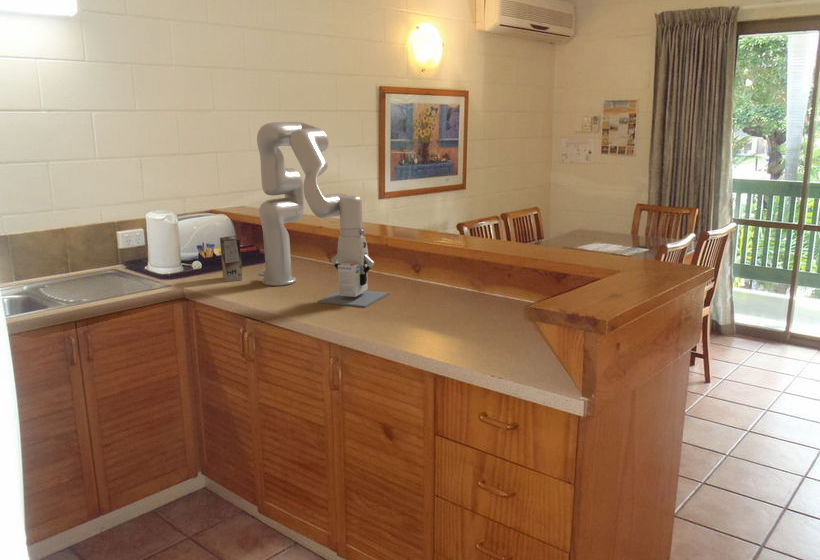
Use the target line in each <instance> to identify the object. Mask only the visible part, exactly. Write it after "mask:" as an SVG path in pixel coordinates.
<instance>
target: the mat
mask: <svg viewBox="0 0 820 560" xmlns="http://www.w3.org/2000/svg"><path fill="white" fill-rule="evenodd" d="M387 296H389V292H387V291H386V292H385V291H377V290H374V291H373V290H366V291H364V292H363V293H361V294H359V295H358V296H356V297H351V296H339V290H338V291H336V292H334V293H331V294H328V295H327V296H326V297H322V298H321V299H318V300H317V302H318V303H320V304H321V303H322V304H328V305H330V304H331V305H339V306H346V307H347V306H348V307H356V308H365V309H366V308H367V307H369V306H371V305H373V304H375V303H376V302H378V301H379V300H381V299H383V298H384V297H387Z"/></svg>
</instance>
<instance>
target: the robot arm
mask: <svg viewBox="0 0 820 560" xmlns="http://www.w3.org/2000/svg"><path fill="white" fill-rule="evenodd" d="M256 144H257V150H258V154H259V158H260V177H261V188H262V191H263V193H264V194H265V195H267V196H273V197H274V196H281V195H284V197H282V198H281V197H278V198H271V199H268V200H265V201H264V202H262V203H261V204H260V205H259V208H258V215H259V220H260V223H261V228H262V236H263V246H264V247H263V248H264V249H263V250H264V260H265V261H264V263H265V269H260V270H259V272H258V276H260V277H263V278H262V284H263V285H265V286H271V287H273V286H274V287H276V286H279V287H280V286H287V285H292V284H294V283H296V282H297V278H296V276H293V274H292V262H291V261H292V260H291V243H290V234H289V232H288V230H287V228H286V227H285V224H289V223H295V222H298V221H300V220H302V218H303V216H304V213H305V201H306V202H307V204H308V205H307V206H309V208H310V210H311V212H312V213H313V214H314V215H315V216H316V217H318V218H320V219H325V218H327V219H328V218H331V217H337V216H339V231H340V232H339V233H340V235H339V236H338V240H337V251H336V253H337V254H336V255H335V256H334V257H333V258H331V260H330V261H331V263H332V265H334V267H335V268H336V270H337V271H338V265H340V264H342V263H349V264H359V266H360V271H361V274H360V285H361V286H363V285H365V284H366V282H368V272H369V271H370V270H371V269H372V268H373V266H374V265H375V261H374V260H372V258H371V257H369V249H368V243H367V240H366V239H367V238H366V236H365V235H366V234H367V230H365V229H364V227H363V204H362V203H363V202H362V198H361V197H360V196H359V195H348V194H345V193H342V192H341V193H339V192H338V193H329V194H323V193H322V192H321V190H320V187H319V185H318V177H320V176H321V175H322V174H324V173H325V172H326V171H327V169H328V163H327V160H326V158H325V156H324V154H323V153H324V152H325V151H326V150H327V149H328V147H329V137H328V135H327V133H326V132H325V131H324V130H323V129H322V128H319V127H318V126H317V127H316V126H314V125H310V124H308V123H304V122H301V121H273V122H267V123H265V124H263V125H262V126H261V127H260V128H259V130H258V131H257V134H256ZM279 147H291V150H292V152H293V154H294V156H295V157H296V159H297V161H298V163H299V165H300V167H301V169H302V171H303V173H304V175H305V176H304V180H303V178H302V175H301V173H300V172H299V171H298V170H297V169H295V168H291V167H288V168H287V167H285V159H284V158H285V157H284V154H283V153H282V151H281V149H280V148H279ZM304 198H305V199H304ZM304 200H305V201H304ZM365 264H367V267H366V265H365ZM362 266H363V267H362Z"/></svg>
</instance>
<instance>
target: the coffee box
mask: <svg viewBox="0 0 820 560" xmlns="http://www.w3.org/2000/svg"><path fill="white" fill-rule="evenodd" d="M219 244H220V255H221V265H222V277H223V279H224V280H225V281H226V282H234V281H242V280H243V279H244V277H243V268H242V267H243V266H242V252H241V240H240V238H238V237H237V236H236V235H233V236H232V235H231V236H223V237H219Z"/></svg>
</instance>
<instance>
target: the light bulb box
mask: <svg viewBox="0 0 820 560" xmlns="http://www.w3.org/2000/svg"><path fill="white" fill-rule="evenodd" d="M365 265H366V267H367V266H368V264H365ZM362 267H363V266H362ZM360 274H361V271H360V266H359V264H349V263H342V264H340V265H338V270H337V278H338V279H337V280H338V283H337V284H338V291H339V296H351V297H356V296H358V295H359V294H361V293H363V292H364V291H368V288H369V287H368V283H369V282H368V281H367V282H366V284H365V285H363V286H361V285H360Z"/></svg>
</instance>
